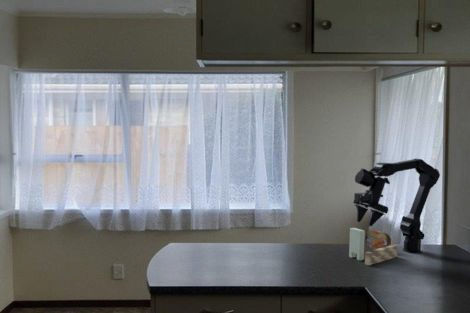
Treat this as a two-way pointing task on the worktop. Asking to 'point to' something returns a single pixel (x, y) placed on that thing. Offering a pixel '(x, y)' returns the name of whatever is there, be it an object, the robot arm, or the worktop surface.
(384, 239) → the tin
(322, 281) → the worktop surface
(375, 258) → the beige long bar piece
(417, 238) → the robot arm
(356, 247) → the sage block
